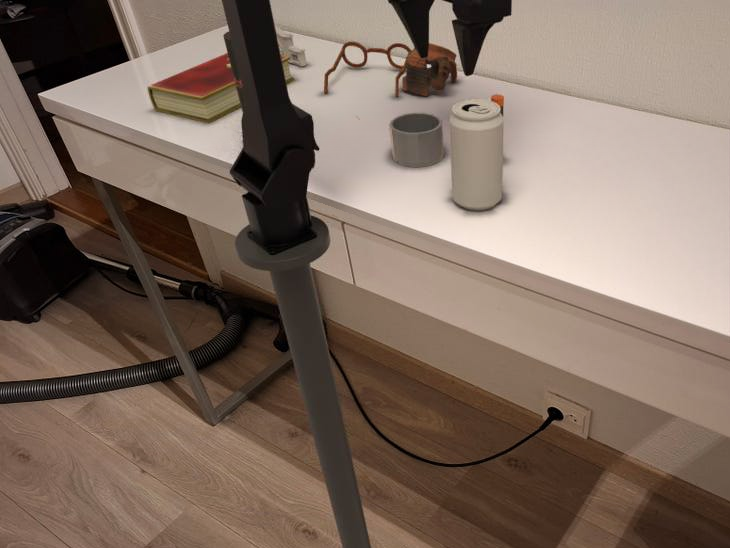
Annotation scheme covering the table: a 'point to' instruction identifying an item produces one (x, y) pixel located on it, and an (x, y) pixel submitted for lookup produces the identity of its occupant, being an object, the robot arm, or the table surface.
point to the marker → (498, 101)
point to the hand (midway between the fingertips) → (445, 66)
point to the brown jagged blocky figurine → (429, 70)
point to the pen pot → (417, 139)
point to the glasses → (380, 50)
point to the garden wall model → (290, 48)
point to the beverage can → (476, 153)
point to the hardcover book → (202, 91)
